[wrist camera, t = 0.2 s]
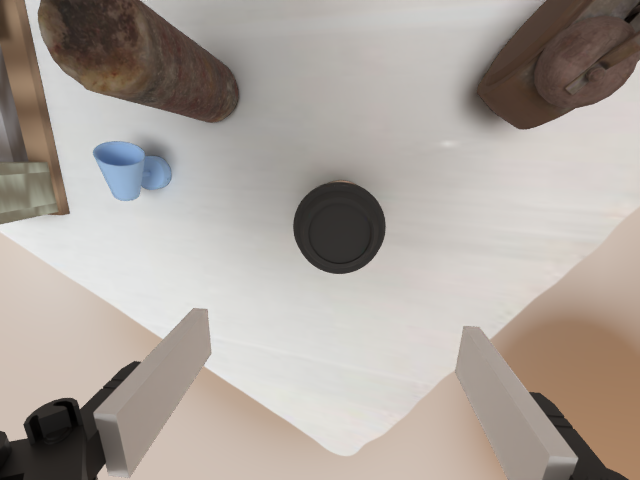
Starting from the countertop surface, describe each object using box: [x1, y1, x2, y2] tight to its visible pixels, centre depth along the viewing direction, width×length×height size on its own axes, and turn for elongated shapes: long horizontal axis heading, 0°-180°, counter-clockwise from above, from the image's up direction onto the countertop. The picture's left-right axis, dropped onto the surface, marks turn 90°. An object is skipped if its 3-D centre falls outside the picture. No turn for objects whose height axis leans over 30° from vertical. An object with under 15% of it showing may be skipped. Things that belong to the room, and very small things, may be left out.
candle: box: [38, 0, 238, 123], centre depth 29 cm, size 8×7×20 cm
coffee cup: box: [293, 180, 386, 274], centre depth 34 cm, size 9×9×15 cm
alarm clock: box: [477, 0, 640, 129], centre depth 26 cm, size 15×7×20 cm, turn 143°
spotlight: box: [93, 141, 171, 201], centre depth 37 cm, size 5×10×7 cm
